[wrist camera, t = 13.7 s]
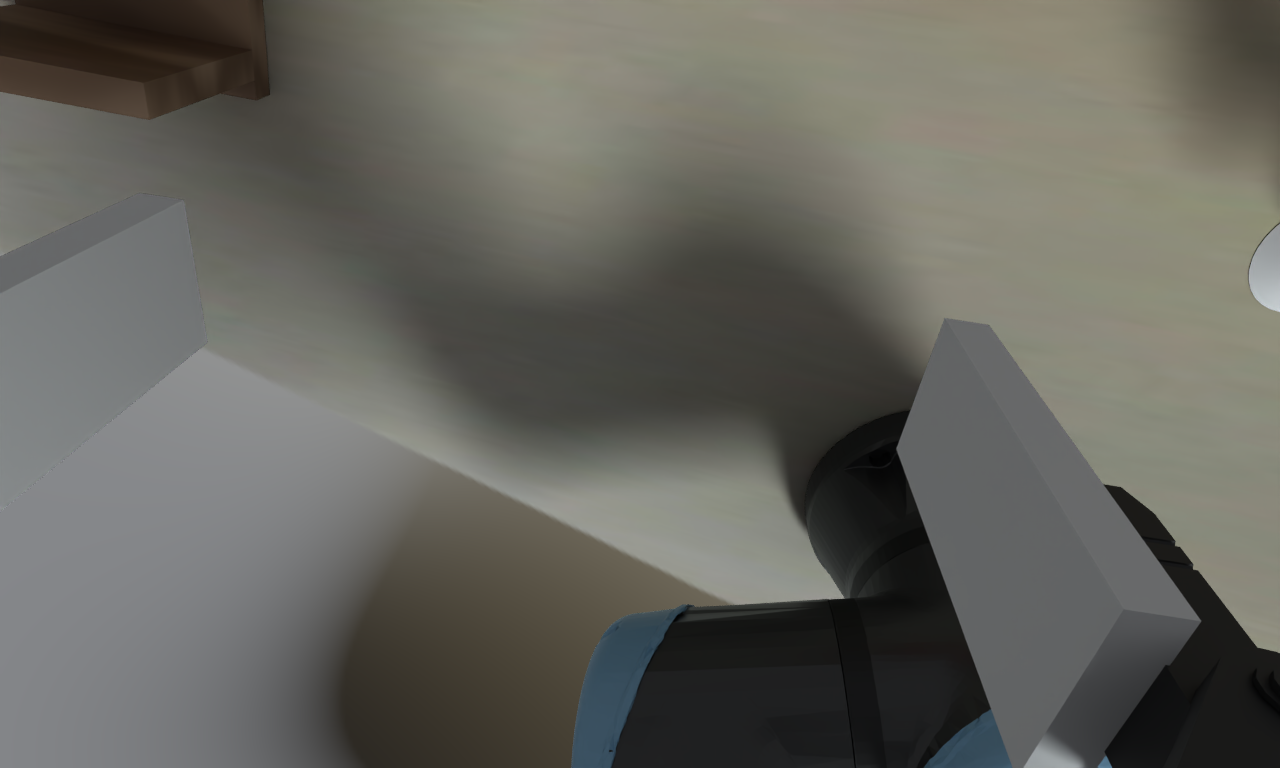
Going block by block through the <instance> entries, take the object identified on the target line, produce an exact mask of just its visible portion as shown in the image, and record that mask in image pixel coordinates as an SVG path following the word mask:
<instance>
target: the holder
mask: <svg viewBox="0 0 1280 768" xmlns="http://www.w3.org/2000/svg"><path fill="white" fill-rule="evenodd" d="M15 3H16V4H15V5H8V6H0V92H5V93H10V94H16V95H21V96H26V97H31V98H37V99H42V100H47V101H52V102H58V103H63V104H68V105H74V106H79V107H84V108H89V109H95V110H100V111H105V112H110V113H116V114H121V115H126V116H131V117H137V118H142V119H147V120H150V119H153V118H156V117H158V116H161V115H164V114H166V113H169V112H172V111H174V110H177V109H180V108H182V107H185V106H188V105H191V104H193V103H196V102H199V101H201V100H204V99H207V98H209V97H212V96H215V95H217V94H220V93H221V94H226V95H231V96H236V97H241V98H247V99H252V100H258V99H261V98H263V97H265V96H268V95H270V90H269V77H268V64H267V51H266V38H265V25H264V12H263V0H15Z"/></svg>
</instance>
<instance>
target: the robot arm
mask: <svg viewBox="0 0 1280 768" xmlns="http://www.w3.org/2000/svg"><path fill="white" fill-rule="evenodd" d="M207 342H208V341H207V335H206V329H205V323H204V317H203V311H202V305H201V299H200V293H199V287H198V281H197V275H196V269H195V263H194V257H193V251H192V245H191V239H190V233H189V227H188V221H187V215H186V209H185V203H184V200H182V199H176V198H169V197H163V196H156V195H150V194H144V193H138V194H136V195H134V196H132V197H129V198H127V199H125V200H123V201H121V202H118V203H116V204H114V205H112V206H110V207H107V208H105V209H103V210H101V211H99V212H97V213H94V214H92V215H90V216H88V217H86V218H83V219H81V220H79V221H77V222H75V223H72V224H70V225H68V226H66V227H64V228H61V229H59V230H57V231H55V232H53V233H51V234H48V235H46V236H44V237H42V238H40V239H37V240H35V241H33V242H31V243H29V244H26V245H24V246H22V247H20V248H18V249H16V250H13V251H11V252H9V253H7V254H5V255H2V256H0V512H1V511H2V510H3V509H4V508H5V507H6V506H8V505H9V504H10V503H12V502H13V501H14V500H15V499H17V498H18V497H19V496H20V495H21V494H23V493H24V492H25V491H26V490H28V489H29V488H30V487H31V486H32V485H34V484H35V483H36V482H37V481H39V480H40V479H41V478H42V477H43V476H45V475H46V474H47V473H48V472H50V471H51V470H52V469H53V468H54V467H56V466H57V465H58V464H59V463H61V462H62V461H63V460H64V459H65V458H66V457H68V456H69V455H70V454H72V453H73V452H74V451H75V450H76V449H78V448H79V447H80V446H81V445H83V444H84V443H85V442H86V441H87V440H89V439H90V438H91V437H92V436H94V435H95V434H96V433H97V432H98V431H100V430H101V429H102V428H103V427H105V426H106V425H107V424H108V423H109V422H111V421H112V420H113V419H114V418H116V417H117V416H118V415H119V414H121V413H122V412H123V411H124V410H125V409H126V408H128V407H129V406H130V405H131V404H133V403H134V402H135V401H136V400H137V399H139V398H140V397H141V396H143V395H144V394H145V393H146V392H147V391H148V390H150V389H151V388H152V387H154V386H155V385H156V384H157V383H158V382H160V381H161V380H162V379H163V378H165V376H167V375H168V374H169V373H171V372H172V371H173V370H174V369H175V368H177V367H178V366H179V365H180V364H182V363H183V362H184V361H185V360H186V359H188V358H189V357H190V356H191V355H193V354H194V353H195V352H196V351H198V350H199V349H200V348H201V347H202V346H204V345H205V344H206V343H207ZM805 516H806V522H807V527H808V533H809V538H810V542H811V545H812V547H813V550H814V553H815V555H816V556H817V558H818V560H819V562H820V563H821V565H822V566H823V567H824V568H825V570H826V571H827V572H828V573H829V574H830V576H831V577H832V579H833V581H834V582H835V584H836V585H837V587H838V588H839V590H840V591H841V593H842V595H843V596H844V598H845V599H831V600H829V599H822V600H807V601H791V602H776V603H760V604H745V605H728V606H707V607H695V606H694V605H689V604H688V605H681V606H679V607H677V608H675V609H669V610H661V611H654V612H645V613H636V614H630V615H627V616H624V617H622V618H620V619H618V620H617V621H615V622H614V623H613V624H612V625H611V626H610V627H609V628H608V629H607V631H606V632H605V633H604V634H603V636H602V638H601V640H600V642H599V644H598V645H597V646H596V648H595V650H594V653H593V655H592V657H591V660H590V663H589V666H588V669H587V672H586V675H585V680H584V684H583V687H582V691H581V696H580V700H579V706H578V712H577V718H576V725H575V732H574V742H573V752H572V768H1280V653H1278V652H1274V651H1270V650H1265V649H1261V648H1257V647H1256V645H1255V644H1254V643H1253V641H1252V640H1251V639H1250V638H1249V636H1248V635H1247V634H1246V632H1245V631H1244V630H1243V628H1242V627H1241V626H1240V625H1239V623H1238V622H1237V621H1236V619H1235V618H1234V617H1233V615H1232V614H1231V613H1230V612H1229V610H1228V609H1227V608H1226V606H1225V605H1224V604H1223V602H1222V601H1221V600H1220V599H1219V597H1218V596H1217V595H1216V593H1215V592H1214V591H1213V589H1212V588H1211V587H1210V586H1209V584H1208V583H1207V582H1206V580H1205V579H1204V578H1203V576H1202V575H1201V574H1200V572H1199V571H1198V570H1193V563H1192V562H1191V561H1190V559H1189V558H1188V557H1187V556H1186V554H1185V553H1184V552H1183V550H1182V549H1181V548H1180V547H1177V546H1175V542H1176V541H1175V540H1174V539H1173V537H1172V536H1171V535H1170V533H1169V532H1168V531H1167V530H1166V528H1165V527H1164V526H1163V524H1162V523H1161V522H1160V520H1159V519H1158V518H1157V517H1156V515H1155V514H1154V513H1153V512H1152V511H1150V510H1149V509H1148V508H1147V507H1145V506H1144V505H1143V504H1142V503H1140V502H1139V501H1138V500H1137V499H1135V498H1134V497H1133V496H1131V495H1130V494H1129V493H1128V492H1126V491H1125V490H1124V489H1123V488H1121V487H1117V486H1110V485H1104V484H1103V483H1102V482H1101V481H1100V479H1099V478H1098V476H1097V475H1096V474H1095V472H1094V471H1093V469H1092V468H1091V467H1090V465H1089V464H1088V462H1087V461H1086V460H1085V458H1084V457H1083V455H1082V454H1081V453H1080V451H1079V450H1078V448H1077V447H1076V446H1075V444H1074V443H1073V441H1072V440H1071V439H1070V437H1069V436H1068V435H1067V433H1066V432H1065V430H1064V429H1063V428H1062V426H1061V425H1060V423H1059V422H1058V421H1057V419H1056V418H1055V416H1054V415H1053V414H1052V412H1051V411H1050V409H1049V408H1048V407H1047V405H1046V404H1045V402H1044V401H1043V400H1042V398H1041V397H1040V395H1039V394H1038V393H1037V391H1036V390H1035V388H1034V387H1033V386H1032V384H1031V383H1030V381H1029V380H1028V379H1027V377H1026V376H1025V375H1024V373H1023V372H1022V370H1021V369H1020V368H1019V366H1018V365H1017V363H1016V362H1015V361H1014V359H1013V358H1012V356H1011V355H1010V354H1009V352H1008V351H1007V349H1006V348H1005V347H1004V345H1003V344H1002V342H1001V341H1000V340H999V338H998V337H997V335H996V334H995V333H994V331H993V330H992V328H991V327H990V326H989V325H986V324H980V323H973V322H967V321H960V320H954V319H947V318H945V319H944V321H943V324H942V327H941V329H940V332H939V335H938V338H937V340H936V343H935V346H934V348H933V351H932V354H931V356H930V359H929V362H928V365H927V367H926V370H925V373H924V375H923V378H922V381H921V383H920V386H919V389H918V392H917V394H916V397H915V400H914V402H913V405H912V408H911V411H907V412H902V413H897V414H893V415H890V416H886V417H884V418H881V419H878V420H875V421H873V422H871V423H868V424H866V425H864V426H862V427H860V428H859V429H857V430H855V431H853V432H852V433H850V434H849V435H847V436H846V437H845V438H843V439H842V440H841V441H839V442H838V443H837V444H836V445H835V446H834V447H833V448H832V449H831V450H830V451H829V452H828V453H827V454H826V455H825V456H824V457H823V459H822V460H821V461H820V463H819V464H818V466H817V467H816V469H815V471H814V473H813V474H812V476H811V479H810V481H809V484H808V487H807V491H806V496H805Z"/></svg>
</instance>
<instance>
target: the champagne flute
mask: <svg viewBox="0 0 1280 768" xmlns="http://www.w3.org/2000/svg"><path fill="white" fill-rule="evenodd" d="M1249 284H1250V289H1251V291H1252V293H1253V295H1254V297H1255V298H1256V299H1257V300H1258V301H1259V302H1260V303H1261V304H1262V305H1264V306H1265V307H1267V308H1269V309H1271V310H1275V311H1278V312H1280V224H1279V225H1277V226H1276V227H1275V228H1274V229H1273V230H1272V231H1271V232H1270V233H1269V234H1268V235H1267V236H1266V237H1265V239H1264V240H1263V241H1262V243H1261V244H1260V246H1259V247H1258V249H1257V251H1256V252H1255V254H1254V256H1253V258H1252V262H1251V265H1250V269H1249Z"/></svg>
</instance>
